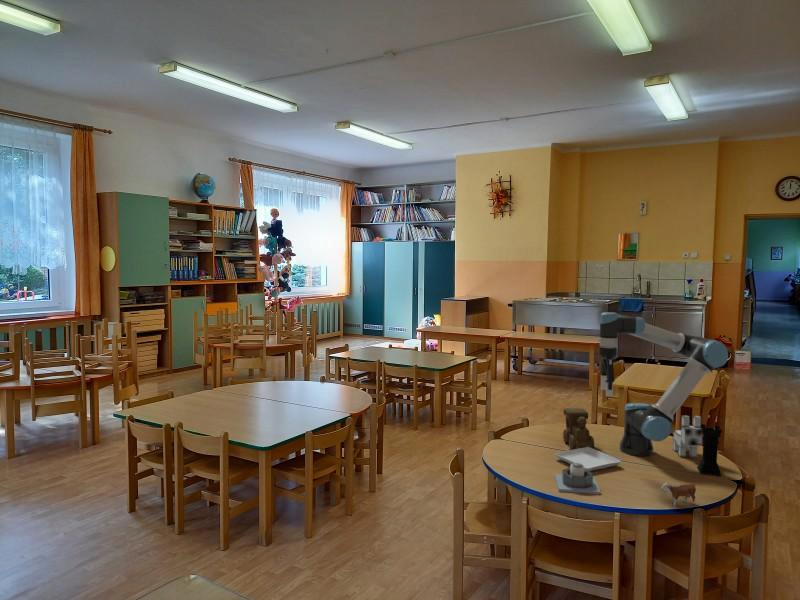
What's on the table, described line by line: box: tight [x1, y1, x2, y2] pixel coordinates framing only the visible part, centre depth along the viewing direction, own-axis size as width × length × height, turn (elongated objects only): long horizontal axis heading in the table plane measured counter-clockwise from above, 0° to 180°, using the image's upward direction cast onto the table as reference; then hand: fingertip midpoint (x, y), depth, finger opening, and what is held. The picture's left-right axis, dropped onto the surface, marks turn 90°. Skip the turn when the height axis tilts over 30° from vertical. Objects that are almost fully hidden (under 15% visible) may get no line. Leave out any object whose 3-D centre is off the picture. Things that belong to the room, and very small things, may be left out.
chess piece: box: [696, 423, 723, 477], centre depth 251 cm, size 8×8×20 cm
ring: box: [561, 467, 594, 489], centre depth 236 cm, size 12×12×4 cm
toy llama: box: [672, 414, 703, 459], centre depth 273 cm, size 8×18×20 cm, turn 173°
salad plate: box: [554, 447, 622, 472], centre depth 261 cm, size 21×21×3 cm
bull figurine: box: [660, 481, 697, 506], centre depth 219 cm, size 4×13×8 cm, turn 95°
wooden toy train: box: [562, 407, 595, 450], centre depth 285 cm, size 20×11×17 cm, turn 179°
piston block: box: [554, 463, 602, 495], centre depth 236 cm, size 16×16×8 cm
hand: (606, 393), depth 262 cm, fingers open, 13 cm apart
